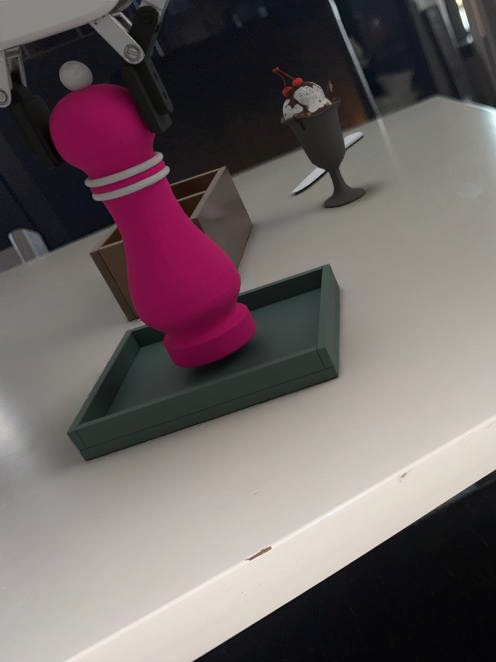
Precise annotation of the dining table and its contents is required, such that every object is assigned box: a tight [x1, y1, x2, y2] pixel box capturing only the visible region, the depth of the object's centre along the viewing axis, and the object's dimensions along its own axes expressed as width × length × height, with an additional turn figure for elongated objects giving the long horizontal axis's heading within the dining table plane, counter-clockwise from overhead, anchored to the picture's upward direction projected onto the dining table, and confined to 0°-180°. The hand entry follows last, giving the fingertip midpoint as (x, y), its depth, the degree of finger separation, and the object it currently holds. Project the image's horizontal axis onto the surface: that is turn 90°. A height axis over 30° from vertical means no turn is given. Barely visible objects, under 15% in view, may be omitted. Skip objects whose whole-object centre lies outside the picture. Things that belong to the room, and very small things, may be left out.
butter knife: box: [291, 131, 364, 194], centre depth 103 cm, size 1×24×3 cm
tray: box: [66, 263, 341, 462], centre depth 56 cm, size 17×15×2 cm
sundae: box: [271, 66, 366, 208], centre depth 82 cm, size 7×7×15 cm
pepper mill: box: [49, 60, 256, 368], centre depth 51 cm, size 7×7×20 cm
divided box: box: [89, 165, 253, 322], centre depth 78 cm, size 10×19×7 cm, turn 10°
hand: (110, 143), depth 48 cm, fingers closed on pepper mill, 6 cm apart
